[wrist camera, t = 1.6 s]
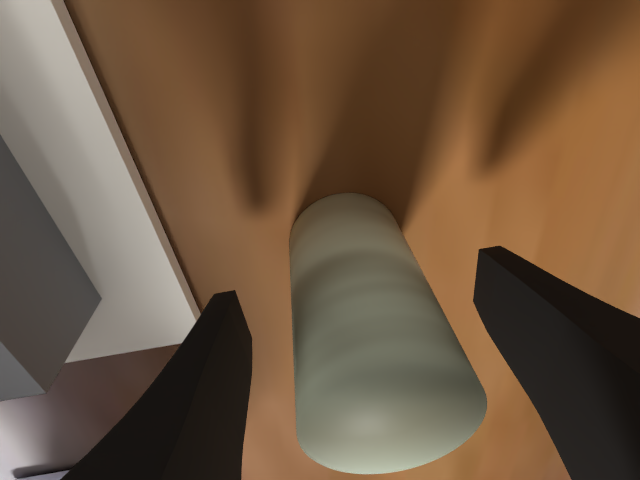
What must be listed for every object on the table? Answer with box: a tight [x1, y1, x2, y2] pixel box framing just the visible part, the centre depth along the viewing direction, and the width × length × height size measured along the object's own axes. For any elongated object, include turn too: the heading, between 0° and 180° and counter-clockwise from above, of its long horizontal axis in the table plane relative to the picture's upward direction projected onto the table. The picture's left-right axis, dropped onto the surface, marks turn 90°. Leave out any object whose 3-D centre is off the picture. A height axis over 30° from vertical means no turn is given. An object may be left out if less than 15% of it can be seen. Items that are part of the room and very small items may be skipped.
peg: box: [289, 193, 487, 474], centre depth 11 cm, size 4×4×7 cm
